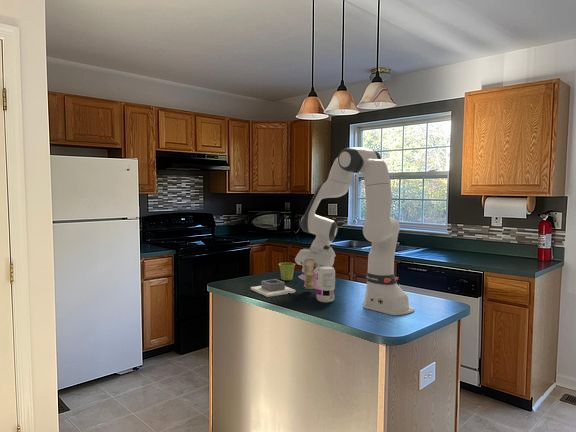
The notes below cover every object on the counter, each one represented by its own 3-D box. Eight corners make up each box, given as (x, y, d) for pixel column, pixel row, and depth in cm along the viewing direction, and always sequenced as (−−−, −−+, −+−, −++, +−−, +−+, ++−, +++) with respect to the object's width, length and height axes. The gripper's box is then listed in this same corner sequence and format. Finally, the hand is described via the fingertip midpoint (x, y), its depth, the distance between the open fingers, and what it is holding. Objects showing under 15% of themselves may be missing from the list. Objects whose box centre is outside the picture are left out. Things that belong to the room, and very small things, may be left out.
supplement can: (313, 301, 188) (314, 268, 187) (320, 296, 195) (321, 265, 194) (330, 303, 184) (331, 270, 183) (337, 299, 191) (337, 267, 190)
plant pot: (276, 280, 227) (276, 264, 227) (281, 277, 236) (281, 261, 236) (292, 282, 225) (292, 266, 224) (297, 278, 234) (297, 263, 233)
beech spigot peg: (315, 288, 203) (315, 259, 202) (308, 289, 200) (308, 260, 200) (310, 286, 207) (310, 258, 206) (302, 287, 204) (302, 259, 203)
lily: (295, 286, 218) (295, 273, 213) (311, 275, 225) (310, 261, 220) (313, 297, 211) (312, 283, 206) (328, 286, 218) (328, 272, 212)
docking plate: (295, 292, 202) (295, 283, 202) (267, 296, 193) (267, 286, 193) (278, 285, 216) (278, 276, 215) (250, 289, 207) (250, 280, 206)
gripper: (299, 244, 214) (288, 266, 206) (334, 247, 202) (324, 270, 195) (303, 252, 218) (293, 273, 210) (338, 255, 206) (328, 278, 199)
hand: (308, 272), depth 202 cm, fingers closed on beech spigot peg, 4 cm apart
